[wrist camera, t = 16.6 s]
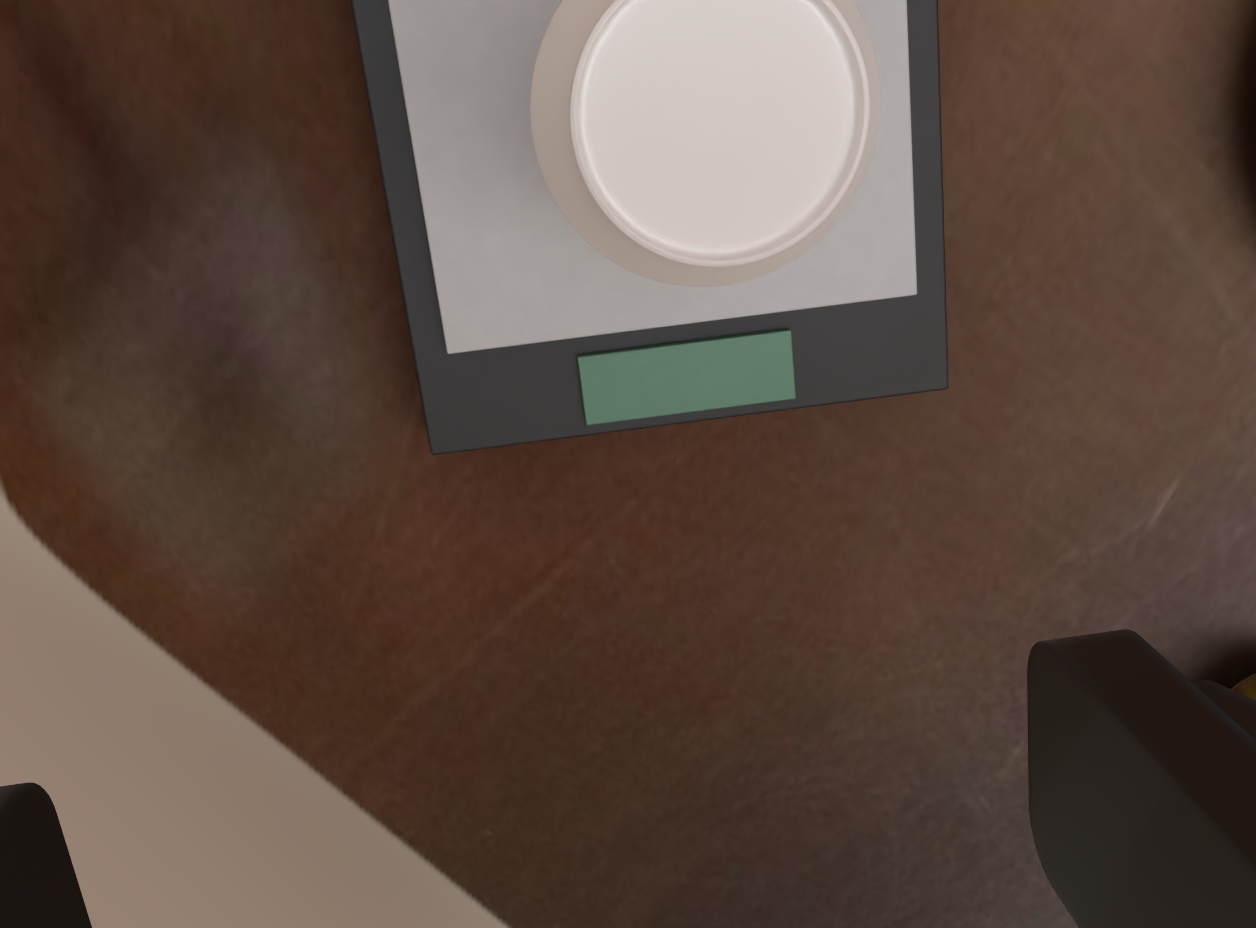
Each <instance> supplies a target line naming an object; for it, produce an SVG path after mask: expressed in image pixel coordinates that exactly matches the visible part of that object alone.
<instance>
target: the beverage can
mask: <svg viewBox="0 0 1256 928" xmlns="http://www.w3.org/2000/svg"><path fill="white" fill-rule="evenodd" d="M880 110H881V89H880V77H879V70H878V64H877V59H876V55H875V51H874V47H873V44H872V40H871V38H870V35H869V32H868V29H867V27H866V25H865V22H864V20H863V18H862V16H861V14H860V12H859V10H858V8H857V6H856V5H855V3H854V1H853V0H562V2H561V3H560V5H559V7H558V8H557V10H556V12H555V14H554V15H553V17H552V19H551V21H550V23H549V25H548V27H547V30H546V32H545V34H544V37H543V39H542V42H541V45H540V48H539V51H538V55H537V58H536V62H535V67H534V72H533V77H532V84H531V95H530V120H531V131H532V138H533V144H534V148H535V153H536V157H537V160H538V164H539V167H540V170H541V173H542V175H543V178H544V180H545V183H546V185H547V187H548V189H549V191H550V193H551V195H552V197H553V199H554V201H555V202H556V204H557V206H558V207H559V209H560V210H561V212H562V213H563V215H564V216H565V218H566V219H567V220H568V222H569V223H570V224H571V225H572V227H573V228H574V229H575V230H576V231H577V232H578V233H579V234H580V235H581V236H582V237H583V239H584V240H586V241H587V242H588V243H589V244H590V245H591V246H592V247H593V248H595V249H596V250H597V251H598V252H600V253H601V254H602V255H603V256H605V257H606V258H608V259H609V260H611V261H612V262H614V263H616V264H617V265H619V266H621V267H623V268H624V269H626V270H628V271H630V272H633V273H635V274H637V275H640V276H642V277H645V278H648V279H651V280H654V281H657V282H661V283H665V284H670V285H676V286H683V287H720V286H727V285H733V284H738V283H742V282H746V281H749V280H753V279H756V278H759V277H761V276H764V275H766V274H769V273H771V272H773V271H775V270H777V269H779V268H781V267H783V266H785V265H787V264H789V263H790V262H792V261H793V260H795V259H797V258H798V257H800V256H801V255H802V254H804V253H805V252H806V251H808V250H809V249H810V248H811V247H813V246H814V245H815V244H816V243H817V242H818V241H819V240H821V239H822V238H823V237H824V236H825V235H826V234H827V233H828V232H829V231H830V229H831V228H832V227H833V226H834V225H835V224H836V223H837V221H838V220H839V219H840V218H841V216H842V215H843V214H844V212H845V211H846V209H847V208H848V206H849V205H850V203H851V202H852V200H853V198H854V197H855V195H856V193H857V191H858V190H859V188H860V186H861V184H862V181H863V179H864V177H865V175H866V172H867V170H868V167H869V164H870V162H871V158H872V155H873V152H874V148H875V144H876V140H877V135H878V129H879V121H880Z"/></svg>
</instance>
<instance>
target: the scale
mask: <svg viewBox="0 0 1256 928" xmlns="http://www.w3.org/2000/svg"><path fill="white" fill-rule="evenodd" d="M853 1H854V3H855V5H856V6H857V8H858V10H859V12H860V14H861V16H862V18H863V20H864V22H865V25H866V27H867V29H868V32H869V35H870V38H871V40H872V44H873V47H874V51H875V55H876V59H877V64H878V70H879V77H880V89H881V110H880V121H879V129H878V135H877V140H876V144H875V148H874V152H873V155H872V158H871V162H870V164H869V167H868V170H867V172H866V175H865V177H864V179H863V181H862V184H861V186H860V188H859V190H858V191H857V193H856V195H855V197H854V198H853V200H852V202H851V203H850V205H849V206H848V208H847V209H846V211H845V212H844V214H843V215H842V216H841V218H840V219H839V220H838V221H837V223H836V224H835V225H834V226H833V227H832V228H831V229H830V231H829V232H828V233H827V234H826V235H825V236H824V237H823V238H822V239H821V240H819V241H818V242H817V243H816V244H815V245H814V246H813V247H811V248H810V249H809V250H808V251H806V252H805V253H804V254H802V255H801V256H800V257H798V258H797V259H795V260H793V261H792V262H790V263H789V264H787V265H785V266H783V267H781V268H779V269H777V270H775V271H773V272H771V273H769V274H766V275H764V276H761V277H759V278H756V279H753V280H749V281H746V282H742V283H738V284H733V285H727V286H720V287H683V286H676V285H670V284H665V283H661V282H657V281H654V280H651V279H648V278H645V277H642V276H640V275H637V274H635V273H633V272H630V271H628V270H626V269H624V268H623V267H621V266H619V265H617V264H616V263H614V262H612V261H611V260H609V259H608V258H606V257H605V256H603V255H602V254H601V253H600V252H598V251H597V250H596V249H595V248H593V247H592V246H591V245H590V244H589V243H588V242H587V241H586V240H584V239H583V237H582V236H581V235H580V234H579V233H578V232H577V231H576V230H575V229H574V228H573V227H572V225H571V224H570V223H569V222H568V220H567V219H566V218H565V216H564V215H563V213H562V212H561V210H560V209H559V207H558V206H557V204H556V202H555V201H554V199H553V197H552V195H551V193H550V191H549V189H548V187H547V185H546V183H545V180H544V178H543V175H542V173H541V170H540V167H539V164H538V160H537V157H536V153H535V148H534V144H533V138H532V131H531V120H530V95H531V84H532V77H533V72H534V67H535V62H536V58H537V55H538V51H539V48H540V45H541V42H542V39H543V37H544V34H545V32H546V30H547V27H548V25H549V23H550V21H551V19H552V17H553V15H554V14H555V12H556V10H557V8H558V7H559V5H560V3H561V2H562V0H351V5H352V11H353V16H354V22H355V28H356V33H357V39H358V45H359V50H360V56H361V62H362V67H363V73H364V79H365V84H366V90H367V95H368V101H369V107H370V112H371V118H372V124H373V129H374V135H375V141H376V146H377V152H378V158H379V163H380V169H381V175H382V180H383V186H384V191H385V197H386V203H387V208H388V214H389V220H390V225H391V231H392V237H393V242H394V248H395V254H396V259H397V265H398V271H399V276H400V282H401V287H402V293H403V299H404V304H405V310H406V316H407V321H408V327H409V333H410V338H411V344H412V350H413V355H414V361H415V367H416V372H417V378H418V383H419V389H420V395H421V400H422V406H423V412H424V417H425V423H426V429H427V434H428V440H429V446H430V451H431V454H432V455H438V454H446V453H454V452H462V451H469V450H477V449H485V448H493V447H500V446H508V445H516V444H524V443H532V442H539V441H547V440H555V439H563V438H571V437H578V436H586V435H594V434H602V433H609V432H617V431H625V430H633V429H641V428H648V427H656V426H664V425H672V424H680V423H687V422H695V421H703V420H711V419H718V418H726V417H734V416H742V415H750V414H757V413H765V412H773V411H781V410H789V409H796V408H804V407H812V406H820V405H827V404H835V403H843V402H851V401H859V400H866V399H874V398H882V397H890V396H898V395H905V394H913V393H921V392H929V391H936V390H944V389H947V388H948V353H947V317H946V280H945V244H944V208H943V172H942V136H941V100H940V64H939V28H938V0H853Z"/></svg>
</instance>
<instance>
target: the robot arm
mask: <svg viewBox="0 0 1256 928" xmlns="http://www.w3.org/2000/svg"><path fill="white" fill-rule="evenodd" d="M1027 690H1028V770H1029V812H1030V821H1031V827H1032V832H1033V837H1034V841H1035V845H1036V848H1037V852H1038V855H1039V858H1040V861H1041V864H1042V866H1043V869H1044V871H1045V873H1046V876H1047V878H1048V880H1049V882H1050V883H1051V885H1052V887H1053V889H1054V890H1055V892H1056V893H1057V895H1058V896H1059V898H1060V899H1061V901H1062V902H1063V904H1064V905H1065V907H1066V909H1067V910H1068V912H1069V913H1070V915H1071V916H1072V918H1073V919H1074V921H1075V922H1076V924H1077V925H1078V927H1079V928H1256V700H1253V699H1251V698H1249V697H1247V696H1245V695H1242V694H1240V693H1238V692H1236V691H1233V690H1231V689H1229V688H1227V687H1225V686H1222V685H1220V684H1218V683H1216V682H1213V681H1211V680H1209V679H1208V680H1201V681H1194V682H1190V681H1189V680H1188V679H1187V678H1186V677H1185V676H1184V675H1183V674H1182V673H1180V672H1179V671H1178V670H1177V669H1176V668H1175V667H1174V666H1173V665H1172V664H1171V663H1169V662H1168V661H1167V660H1166V659H1165V658H1164V657H1163V656H1162V655H1161V654H1159V653H1158V652H1157V651H1156V650H1155V649H1154V648H1153V647H1152V646H1151V645H1149V644H1148V643H1147V642H1146V641H1145V640H1144V639H1143V638H1142V637H1141V636H1139V635H1138V634H1137V633H1135V632H1134V631H1131V630H1125V629H1124V630H1117V631H1110V632H1103V633H1096V634H1089V635H1082V636H1074V637H1067V638H1060V639H1053V640H1046V641H1039V642H1037V643H1035V645H1034V646H1033V647H1032V649H1031V651H1030V655H1029V659H1028V669H1027ZM0 928H92V926H91V923H90V920H89V917H88V914H87V910H86V907H85V904H84V900H83V897H82V894H81V891H80V887H79V884H78V881H77V878H76V874H75V871H74V868H73V865H72V862H71V858H70V855H69V852H68V849H67V845H66V842H65V839H64V836H63V832H62V829H61V826H60V823H59V820H58V816H57V813H56V810H55V807H54V805H53V802H52V800H51V798H50V797H49V795H48V794H47V792H46V791H45V790H44V789H43V788H42V787H41V786H40V785H37V784H35V783H22V784H15V785H8V786H1V787H0Z"/></svg>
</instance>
